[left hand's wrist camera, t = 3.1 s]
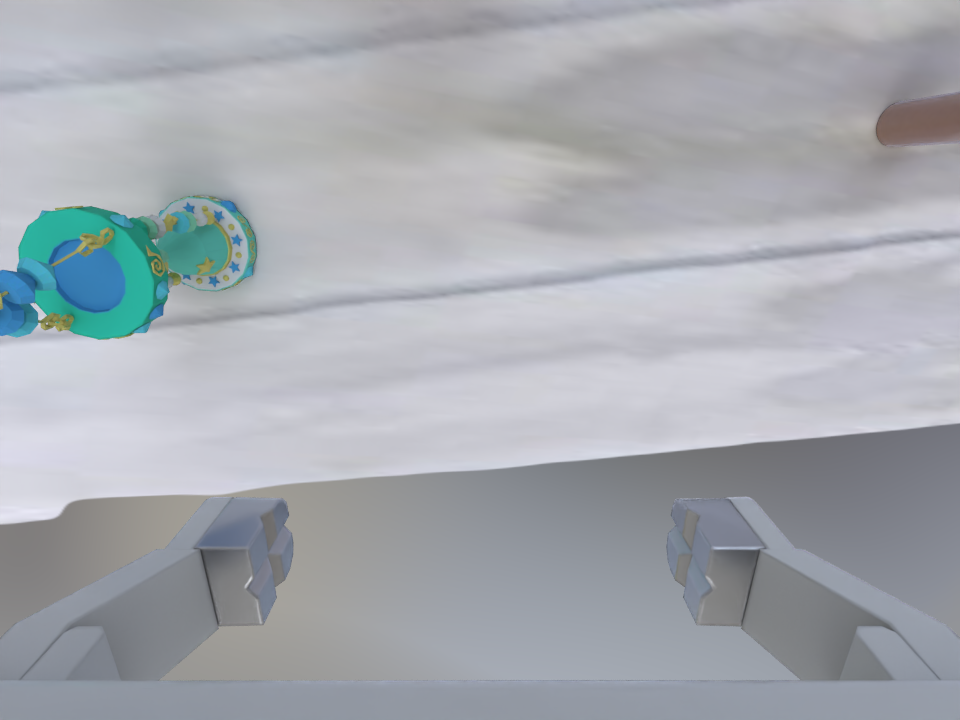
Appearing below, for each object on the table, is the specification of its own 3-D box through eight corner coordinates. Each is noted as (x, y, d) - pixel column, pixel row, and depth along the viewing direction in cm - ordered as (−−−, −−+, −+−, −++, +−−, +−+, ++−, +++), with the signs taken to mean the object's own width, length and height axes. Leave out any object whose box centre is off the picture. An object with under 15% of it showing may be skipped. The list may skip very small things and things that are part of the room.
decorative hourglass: (232, 310, 58) (4, 440, 30) (143, 253, 56) (-194, 335, 28) (279, 232, 55) (73, 297, 27) (187, 168, 53) (-142, 166, 25)
